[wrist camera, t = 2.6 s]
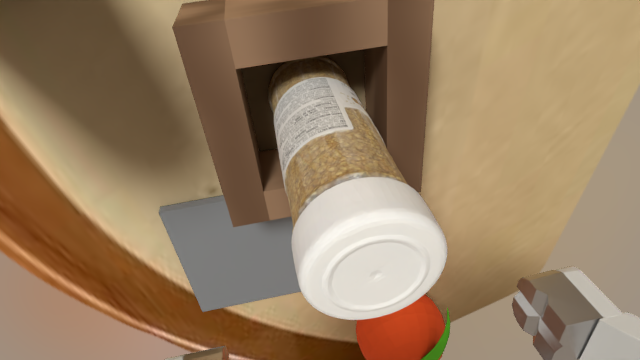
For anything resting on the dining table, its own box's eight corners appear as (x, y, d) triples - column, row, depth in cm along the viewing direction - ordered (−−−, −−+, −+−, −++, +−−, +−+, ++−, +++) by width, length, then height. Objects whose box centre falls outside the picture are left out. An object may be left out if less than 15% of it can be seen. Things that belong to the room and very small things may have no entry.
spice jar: (356, 110, 24) (461, 294, 13) (284, 139, 24) (328, 343, 13) (332, 36, 21) (440, 192, 10) (251, 70, 21) (272, 257, 10)
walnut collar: (401, -27, 20) (435, -11, 16) (397, 154, 26) (420, 191, 23) (182, 3, 19) (172, 27, 16) (233, 184, 25) (233, 227, 22)
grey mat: (317, 178, 26) (319, 183, 25) (329, 279, 32) (331, 285, 31) (160, 206, 25) (158, 213, 25) (203, 305, 31) (202, 311, 30)
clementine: (394, 247, 31) (431, 327, 25) (450, 275, 34) (493, 351, 29) (330, 307, 34) (350, 391, 28) (387, 328, 37) (415, 406, 32)
